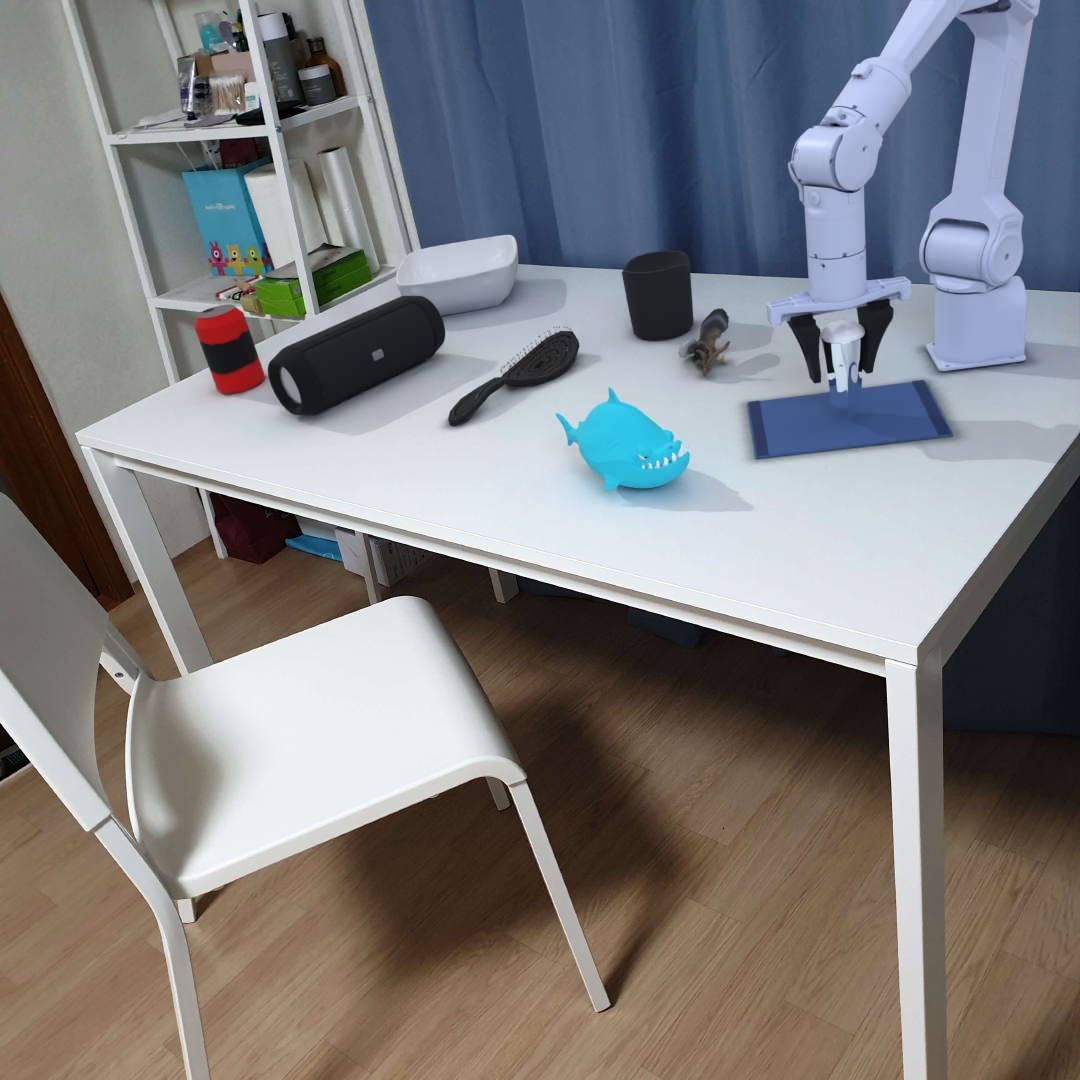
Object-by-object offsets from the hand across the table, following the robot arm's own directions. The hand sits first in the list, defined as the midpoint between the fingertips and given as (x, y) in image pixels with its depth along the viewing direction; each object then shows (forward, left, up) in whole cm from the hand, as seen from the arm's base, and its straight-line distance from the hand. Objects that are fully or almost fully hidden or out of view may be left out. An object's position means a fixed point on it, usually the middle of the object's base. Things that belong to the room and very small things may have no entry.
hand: (841, 374), depth 112 cm
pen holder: (+20, -36, -6) cm, 42 cm away
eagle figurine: (+14, -21, -6) cm, 26 cm away
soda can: (+86, -38, -6) cm, 94 cm away
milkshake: (0, 0, -4) cm, 4 cm away
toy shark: (+24, +8, -6) cm, 26 cm away
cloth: (0, 0, -5) cm, 5 cm away
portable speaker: (+63, -30, -6) cm, 70 cm away
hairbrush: (+40, -22, -6) cm, 46 cm away
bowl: (+54, -64, -6) cm, 84 cm away
